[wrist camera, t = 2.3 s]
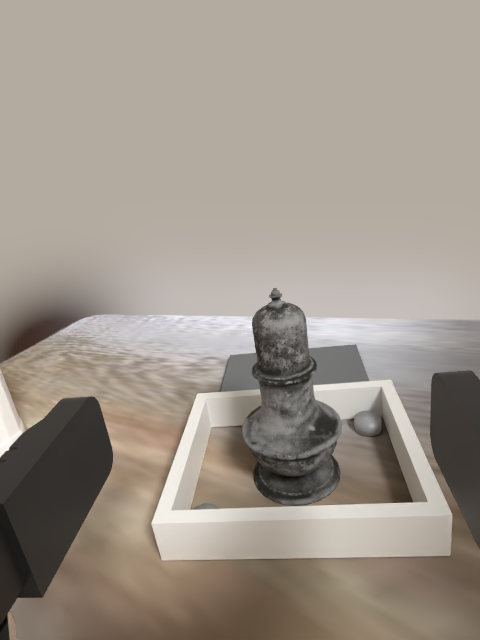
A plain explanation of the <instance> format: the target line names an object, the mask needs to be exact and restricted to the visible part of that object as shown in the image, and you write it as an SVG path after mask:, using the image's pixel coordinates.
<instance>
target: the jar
mask: <svg viewBox="0 0 480 640" xmlns="http://www.w3.org/2000/svg"><path fill="white" fill-rule="evenodd" d="M25 431H26V430H25V427H24V425H23V422H22V420H21V418H20V417H19V416H18V413H17V410H16V408H15V405H14V403H13V400H12V398H11V395H10V392H9V390H8V387H7V385H6V382H5V379H4V377H3V374H2V372H1V369H0V457H1V456H2V455H3V454H4V453H5V452H6V451H9V447H10V446H11V445H12V444H13V443H14V442H15V441H16V440H17V439H18V438H19V436H20V435H21V434H22V433H23V432H25Z"/></svg>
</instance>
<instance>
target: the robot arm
mask: <svg viewBox="0 0 480 640" xmlns="http://www.w3.org/2000/svg"><path fill="white" fill-rule="evenodd" d="M430 437H431V444H432V449H433V453H434V456H435V459H436V461H437V463H438V465H439V467H440V470H441V472H442V474H443V476H444V478H445V480H446V482H447V484H448V486H449V488H450V490H451V492H452V494H453V496H454V498H455V500H456V502H457V504H458V506H459V508H460V510H461V512H462V514H463V516H464V518H465V520H466V522H467V524H468V526H469V528H470V531H471V533H472V535H473V537H474V539H475V541H476V543H477V545H478V547H479V549H480V380H479V378H478V377H477V376H476V375H475V374H474V373H473V372H472V371H458V372H444V373H435V374H434V375H433V377H432V383H431V421H430ZM112 463H113V451H112V446H111V443H110V439H109V436H108V432H107V429H106V425H105V422H104V418H103V415H102V411H101V408H100V405H99V402H98V401H97V399H96V398H95V397H78V398H65V399H62V400H60V401H59V402H58V403H57V405H56V406H55V407H54V408H53V409H52V410H51V411H50V412H49V413H48V415H47V416H46V417H45V418H44V419H43V420H41V421H40V422H38V423H37V424H35V425H34V426H32V427H31V428H29V429H28V430H26V431H25V432H23V433H22V434H21V435H20V436H19V438H18V439H17V440H16V441H15V442H14V443H13V444H12V445H11V446H10V447H9V451H6V452H5V453H4V454H3V455H2V456H1V457H0V640H17V638H16V629H15V621H14V617H13V615H12V613H11V611H10V609H11V607H12V606H13V604H14V602H15V601H16V599H17V598H42V597H43V596H44V594H45V592H46V590H47V588H48V586H49V585H50V583H51V581H52V579H53V577H54V575H55V574H56V572H57V570H58V568H59V566H60V564H61V562H62V561H63V559H64V557H65V555H66V553H67V551H68V550H69V548H70V546H71V544H72V542H73V540H74V539H75V537H76V535H77V533H78V531H79V529H80V527H81V526H82V524H83V522H84V520H85V518H86V516H87V515H88V513H89V511H90V509H91V507H92V505H93V503H94V502H95V500H96V498H97V496H98V494H99V492H100V491H101V489H102V487H103V485H104V483H105V481H106V480H107V478H108V476H109V474H110V471H111V468H112Z"/></svg>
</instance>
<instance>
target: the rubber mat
mask: <svg viewBox="0 0 480 640" xmlns="http://www.w3.org/2000/svg"><path fill="white" fill-rule="evenodd" d="M309 356H310V357H312V358H313V359H314V360H315V361H316V363H317V369H316V371H315V372H314V374H313V375H312V377H313V385H324V384H338V383H352V382H366V381H369V380H368V377H367V374H366V371H365V369H364V366H363V363H362V360H361V357H360V355H359V352H358V349H357V346H356V345H345V346H333V347H322V348H310V349H309ZM256 362H257V355H256V353H251V354H239V355H230V357H229V361H228V365H227V369H226V373H225V376H224V380H223V384H222V388H221V392H228V391H241V390H255V389H260V386H259V380H257V379H256V378H254V376H253V375H252V368H253V366H254V364H255V363H256Z"/></svg>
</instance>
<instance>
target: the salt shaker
mask: <svg viewBox="0 0 480 640" xmlns="http://www.w3.org/2000/svg"><path fill="white" fill-rule="evenodd" d="M281 296H282V294H280V292H279V291H278V290H277V289H276V288H274V289H273V291H272V292H271V295H269V297H270V298H272V302H270V303H269V304H268V305H266V306H264V307H262V308H261V309H260V310H258V311H257V312H256V314H255V316H254V317H253V321H252V327H253V334H254V341H255V348H256V355H257V362H256V363H255V364H254V366H253V368H252V375H253V376H254V378H256V379H257V380H259V386H260V393H261V405H260V406H259V407H257V408H256V409H254V410H253V411H251V413H250V414H249V415H248V416H247V417H246V418H245V420H244V422H243V425H242V437H243V439H244V441H245V443H246V444H247V445H248V446H249V447H250V449H251V451H252V453H253V455H254V456H255V458H256V459H257V460H258V463H257V464H256V467H255V470H254V481H255V484H256V486H257V488H258V490H259V491H260V492H261V493H262V494H263V495H264V496H265V497H267V498H269V499H270V500H272V501H274V502H277V503H281V504H284V505H294V506H297V505H307V504H311V503H314V502H317V501H320V500H321V499H323V498H325V497H326V496H328V495H329V494H330V493H331V492H332V491H333V490H334V489H335V488H336V486H337V484H338V482H339V480H340V468H339V465H338V462H337V461H336V460H335V458H334V457H333V456H332V453H333V451H334V449H335V446H336V444H337V440H338V438H339V436H340V434H341V431H342V421H341V419H340V416H339V414H338V413H337V412H336V411H335V410H334V409H333V408H332V407H330V406H329V405H327V404H325V403H323V402H321V401H318V400H315V397H314V388H313V377H312V375H313V374H314V372H315V371H316V369H317V363H316V361H315V360H314V359H313V358H312V357H310V356H309V349H308V338H307V327H306V318H305V316H304V313H303V311H302V310H301V309H300V308H299V307H298V306H296V305H293V304H290V303H285V302H284V301H281V299H280V297H281Z"/></svg>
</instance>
